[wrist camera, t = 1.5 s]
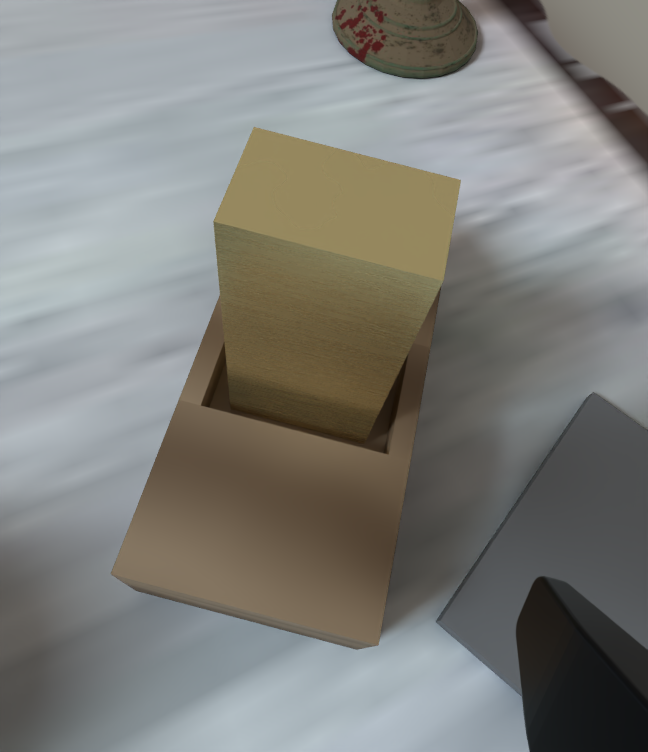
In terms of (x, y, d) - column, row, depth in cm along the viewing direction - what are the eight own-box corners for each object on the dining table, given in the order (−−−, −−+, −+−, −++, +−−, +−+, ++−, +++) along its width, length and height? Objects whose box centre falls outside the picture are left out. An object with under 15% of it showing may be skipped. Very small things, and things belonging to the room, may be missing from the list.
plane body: (356, 649, 20) (397, 641, 15) (135, 590, 20) (88, 559, 15) (425, 287, 28) (470, 186, 22) (262, 245, 28) (264, 133, 22)
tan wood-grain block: (364, 444, 21) (443, 280, 12) (230, 409, 21) (213, 221, 12) (379, 372, 23) (461, 179, 14) (254, 340, 23) (253, 126, 14)
